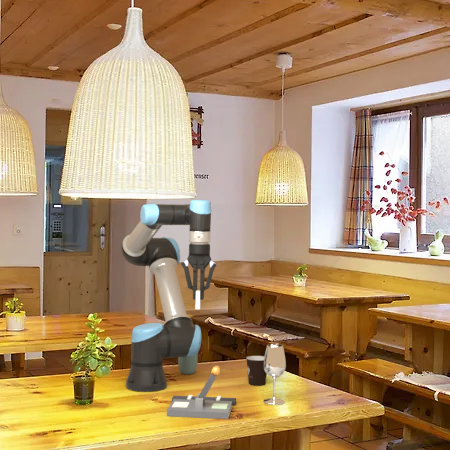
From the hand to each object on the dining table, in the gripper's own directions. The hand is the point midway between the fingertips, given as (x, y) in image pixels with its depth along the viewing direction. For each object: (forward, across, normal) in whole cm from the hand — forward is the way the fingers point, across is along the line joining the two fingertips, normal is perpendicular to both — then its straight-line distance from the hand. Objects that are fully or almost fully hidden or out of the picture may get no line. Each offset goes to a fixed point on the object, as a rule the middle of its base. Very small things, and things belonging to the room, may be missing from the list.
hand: (198, 308), depth 270 cm
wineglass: (+31, +28, -5) cm, 42 cm away
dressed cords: (+31, +4, -10) cm, 33 cm away
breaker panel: (+31, +5, -21) cm, 38 cm away
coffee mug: (+32, +20, +22) cm, 44 cm away
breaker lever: (+27, +5, -21) cm, 35 cm away
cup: (+32, -9, +33) cm, 47 cm away
